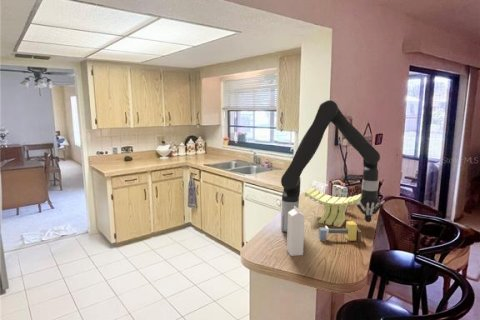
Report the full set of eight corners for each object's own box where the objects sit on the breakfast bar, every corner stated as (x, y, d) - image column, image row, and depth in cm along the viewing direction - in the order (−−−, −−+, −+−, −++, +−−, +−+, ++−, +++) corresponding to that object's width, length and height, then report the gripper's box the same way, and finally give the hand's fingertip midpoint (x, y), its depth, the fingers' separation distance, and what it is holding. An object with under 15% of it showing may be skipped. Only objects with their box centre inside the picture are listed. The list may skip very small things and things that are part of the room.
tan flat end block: (357, 242, 153) (358, 231, 152) (353, 237, 159) (354, 227, 158) (360, 242, 153) (361, 231, 152) (356, 237, 158) (357, 227, 158)
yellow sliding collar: (348, 240, 153) (349, 224, 152) (345, 236, 158) (346, 221, 157) (356, 240, 153) (357, 224, 152) (352, 236, 158) (353, 221, 157)
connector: (320, 240, 154) (320, 230, 153) (318, 237, 158) (319, 227, 157) (326, 240, 154) (326, 230, 153) (324, 237, 158) (324, 227, 157)
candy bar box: (347, 212, 199) (348, 188, 197) (340, 212, 198) (342, 188, 195) (337, 207, 210) (338, 184, 207) (330, 207, 208) (332, 184, 206)
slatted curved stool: (360, 221, 182) (362, 192, 180) (355, 229, 169) (357, 199, 166) (312, 212, 198) (313, 186, 195) (304, 219, 185) (305, 191, 182)
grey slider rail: (321, 233, 155) (321, 229, 155) (320, 231, 157) (320, 228, 156) (360, 233, 154) (360, 230, 154) (359, 232, 156) (359, 229, 156)
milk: (298, 249, 144) (300, 205, 141) (303, 255, 138) (305, 209, 135) (286, 250, 143) (287, 205, 140) (290, 256, 138) (292, 209, 134)
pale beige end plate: (326, 236, 154) (326, 228, 153) (324, 233, 158) (324, 225, 157) (328, 236, 154) (328, 228, 153) (326, 233, 158) (326, 225, 157)
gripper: (359, 190, 148) (357, 224, 150) (386, 190, 147) (384, 224, 150) (353, 186, 155) (352, 219, 158) (379, 186, 155) (377, 219, 157)
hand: (367, 221), depth 154 cm, fingers closed
